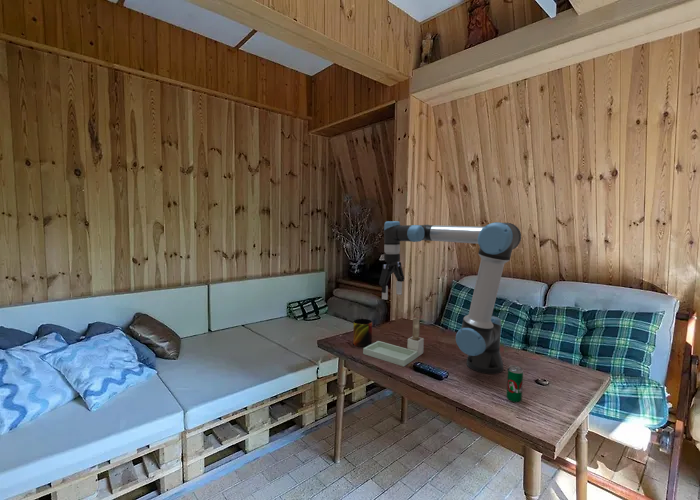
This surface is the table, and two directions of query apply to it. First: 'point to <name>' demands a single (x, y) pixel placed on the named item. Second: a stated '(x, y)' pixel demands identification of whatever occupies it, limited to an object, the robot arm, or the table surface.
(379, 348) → the tray
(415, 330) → the dowel
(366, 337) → the mug
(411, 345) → the cup
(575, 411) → the table surface
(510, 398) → the soda can
